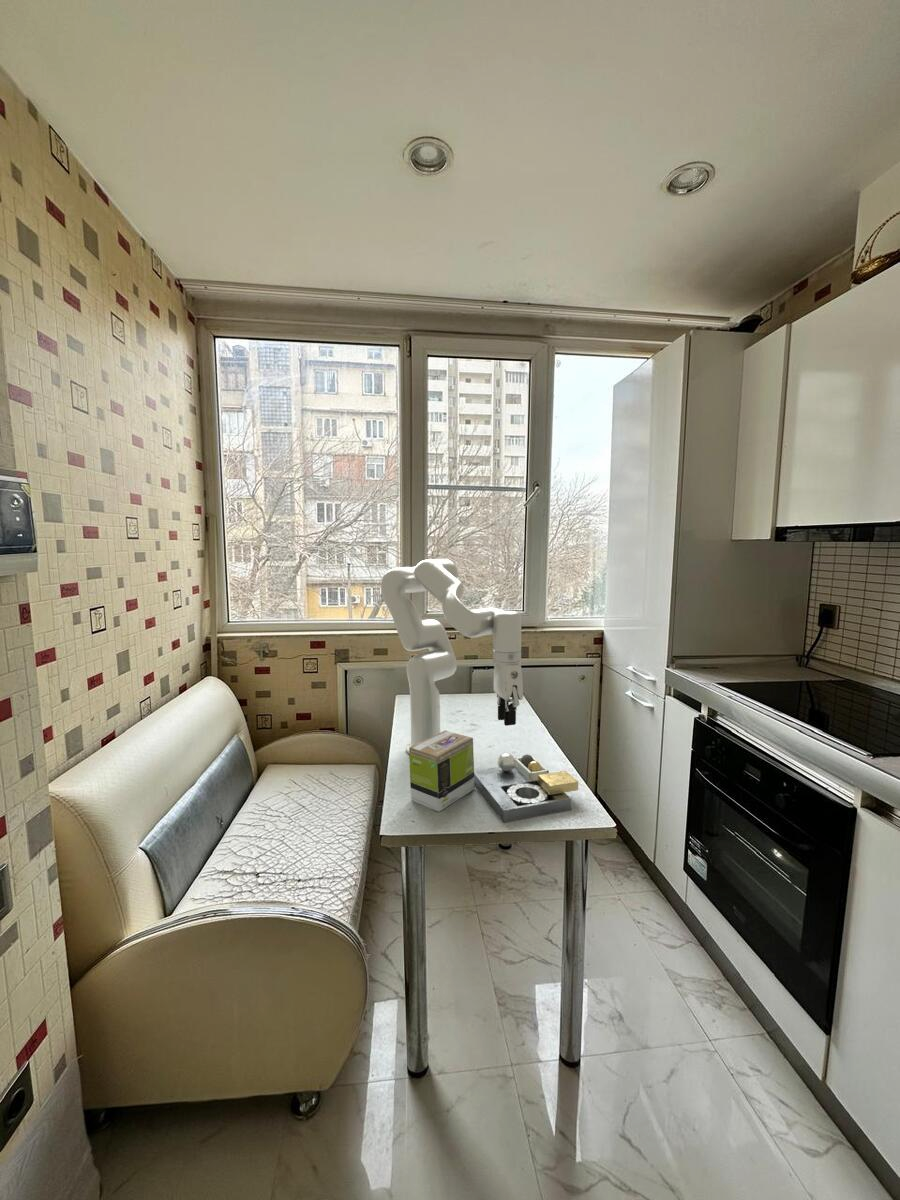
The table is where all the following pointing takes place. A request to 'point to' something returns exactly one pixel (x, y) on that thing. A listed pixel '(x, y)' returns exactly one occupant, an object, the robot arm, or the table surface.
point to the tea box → (441, 769)
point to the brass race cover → (557, 782)
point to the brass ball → (534, 766)
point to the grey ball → (526, 760)
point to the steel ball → (506, 762)
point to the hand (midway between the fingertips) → (506, 721)
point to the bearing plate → (517, 795)
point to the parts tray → (529, 775)
